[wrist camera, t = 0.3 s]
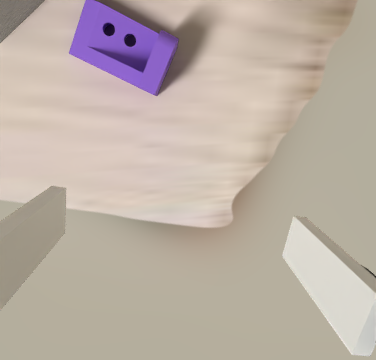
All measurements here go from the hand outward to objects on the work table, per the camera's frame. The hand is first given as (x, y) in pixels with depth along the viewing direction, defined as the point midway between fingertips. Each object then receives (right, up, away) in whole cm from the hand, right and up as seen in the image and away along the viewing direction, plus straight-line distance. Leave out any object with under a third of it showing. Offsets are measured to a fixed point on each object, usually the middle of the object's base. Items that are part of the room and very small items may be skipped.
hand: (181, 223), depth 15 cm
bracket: (-8, +20, +20) cm, 29 cm away
